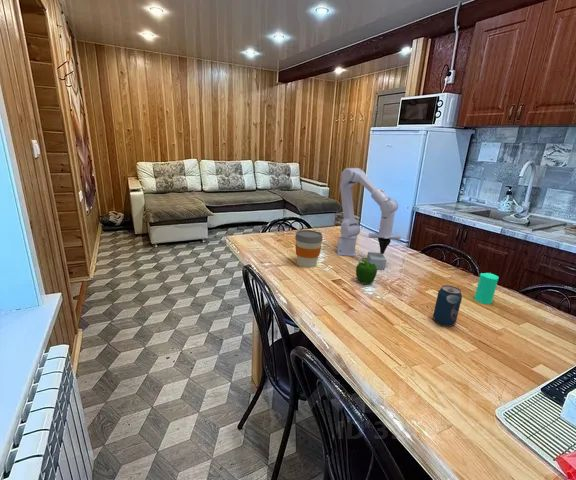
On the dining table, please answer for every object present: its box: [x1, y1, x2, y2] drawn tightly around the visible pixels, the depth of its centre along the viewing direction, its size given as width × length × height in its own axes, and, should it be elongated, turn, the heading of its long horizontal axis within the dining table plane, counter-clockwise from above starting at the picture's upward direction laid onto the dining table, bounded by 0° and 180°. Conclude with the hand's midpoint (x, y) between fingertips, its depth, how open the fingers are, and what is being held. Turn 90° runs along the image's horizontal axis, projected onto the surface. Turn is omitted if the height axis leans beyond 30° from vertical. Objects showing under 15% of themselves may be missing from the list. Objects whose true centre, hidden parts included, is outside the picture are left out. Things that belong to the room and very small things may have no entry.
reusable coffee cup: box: [294, 229, 323, 269], centre depth 145 cm, size 13×13×15 cm
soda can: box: [432, 284, 463, 327], centre depth 102 cm, size 7×7×12 cm
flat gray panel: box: [362, 257, 385, 271], centre depth 152 cm, size 8×14×1 cm, turn 175°
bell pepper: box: [355, 259, 378, 285], centre depth 130 cm, size 8×8×10 cm
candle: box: [474, 271, 499, 305], centre depth 119 cm, size 6×6×12 cm
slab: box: [366, 251, 387, 269], centre depth 151 cm, size 4×10×7 cm
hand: (381, 253), depth 150 cm, fingers closed
